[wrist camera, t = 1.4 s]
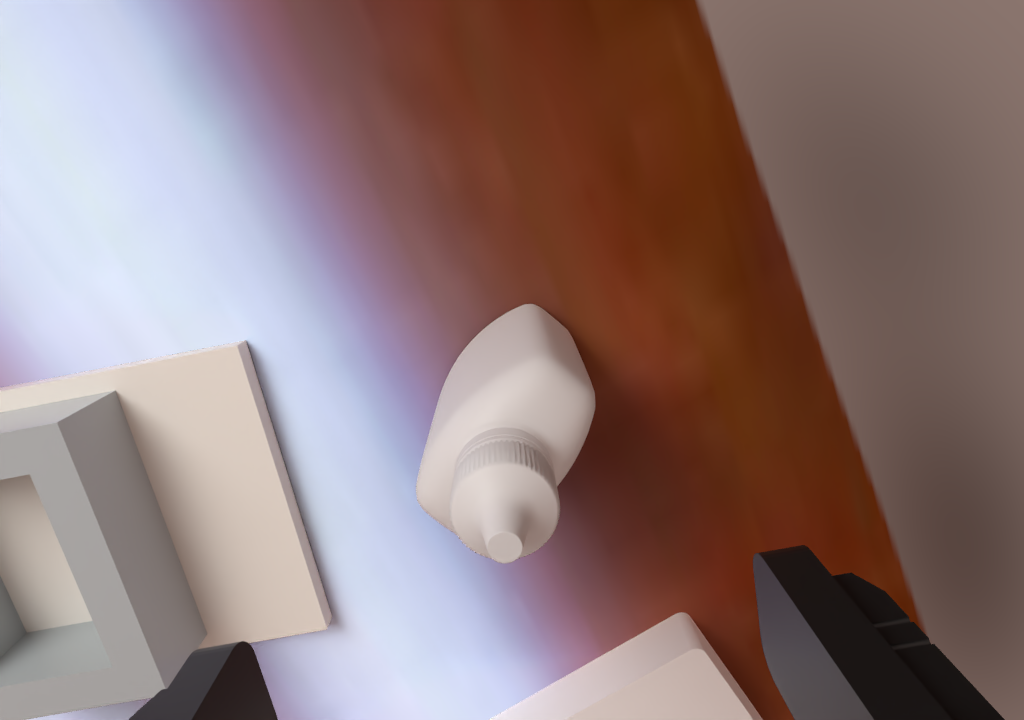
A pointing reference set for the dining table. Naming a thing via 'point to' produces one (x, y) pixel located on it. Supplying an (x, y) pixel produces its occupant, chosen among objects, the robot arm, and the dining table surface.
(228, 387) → the holder stand
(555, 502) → the eye dropper bottle
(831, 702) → the robot arm
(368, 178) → the dining table surface
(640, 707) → the holder
